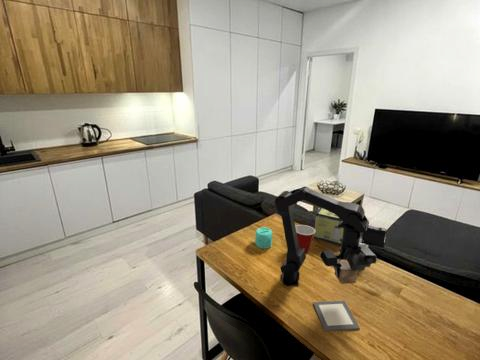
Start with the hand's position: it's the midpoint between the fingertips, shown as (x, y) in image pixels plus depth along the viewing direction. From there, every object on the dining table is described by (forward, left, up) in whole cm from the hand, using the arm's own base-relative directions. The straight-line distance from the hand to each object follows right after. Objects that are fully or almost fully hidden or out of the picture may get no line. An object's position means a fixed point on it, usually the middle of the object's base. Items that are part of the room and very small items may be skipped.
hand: (345, 276), depth 96 cm
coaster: (-6, -7, -11) cm, 14 cm away
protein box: (+12, +44, -11) cm, 47 cm away
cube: (0, 0, -1) cm, 1 cm away
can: (+16, +22, -11) cm, 29 cm away
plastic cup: (-6, +34, -11) cm, 36 cm away
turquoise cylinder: (-25, +40, -11) cm, 48 cm away
